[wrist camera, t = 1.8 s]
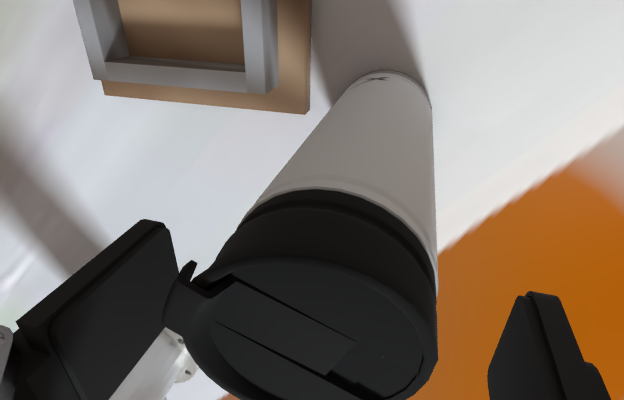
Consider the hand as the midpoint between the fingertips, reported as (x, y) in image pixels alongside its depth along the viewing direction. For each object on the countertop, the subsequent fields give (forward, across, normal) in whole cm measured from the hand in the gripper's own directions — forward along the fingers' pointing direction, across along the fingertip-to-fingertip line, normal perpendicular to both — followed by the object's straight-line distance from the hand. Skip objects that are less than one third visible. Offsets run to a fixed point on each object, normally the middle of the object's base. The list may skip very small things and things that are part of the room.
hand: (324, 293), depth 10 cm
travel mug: (+18, 0, +1) cm, 18 cm away
